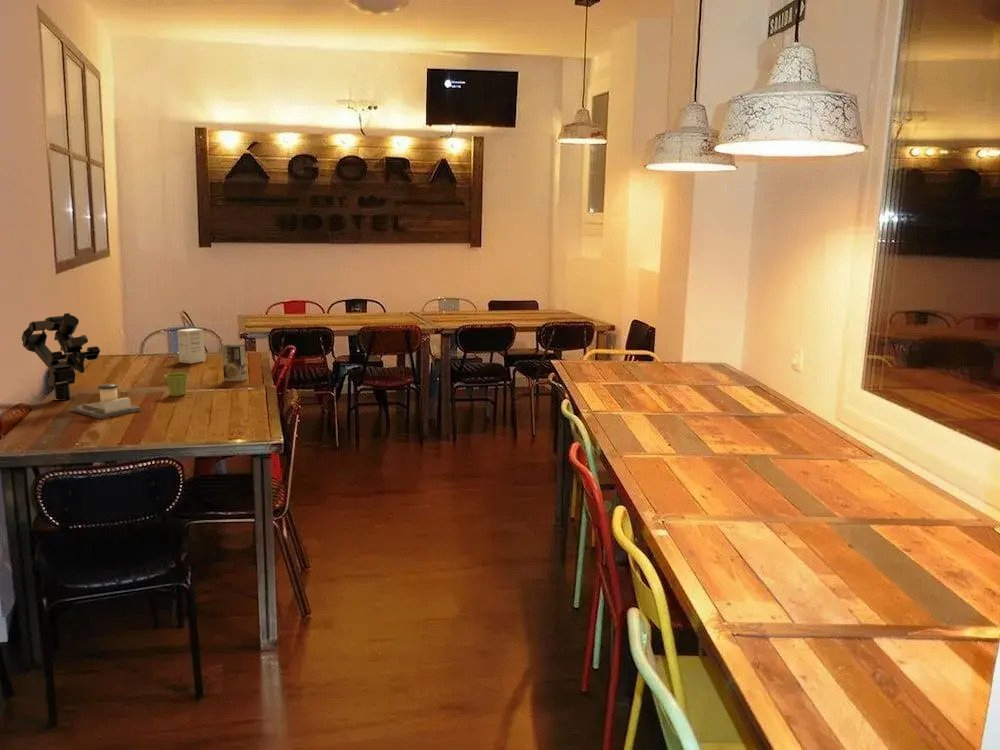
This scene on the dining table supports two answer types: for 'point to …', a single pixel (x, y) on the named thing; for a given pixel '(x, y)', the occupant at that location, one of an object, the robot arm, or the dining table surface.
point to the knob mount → (107, 408)
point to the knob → (108, 392)
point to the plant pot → (177, 383)
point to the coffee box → (234, 362)
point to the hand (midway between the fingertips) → (82, 372)
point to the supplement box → (191, 345)
